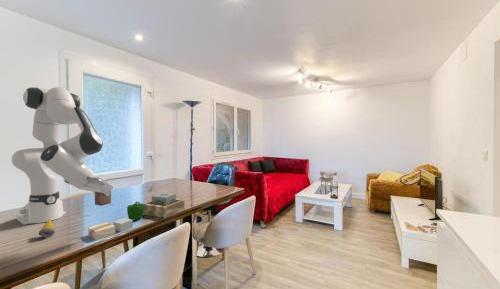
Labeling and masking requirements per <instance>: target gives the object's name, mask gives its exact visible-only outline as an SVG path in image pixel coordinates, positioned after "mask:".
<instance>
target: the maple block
mask: <svg viewBox="0 0 500 289" xmlns="http://www.w3.org/2000/svg"><path fill="white" fill-rule="evenodd" d="M87 232H88V236H89V237H90V238H92V239H93V240H95V241H98V240H100V239H103V238H107V237H111V236H112V235H115V234H116V230H115V226H114V225H113V223H109V222H103V223H100V224H99V223H98V224H95V225H92V226H89V227H88V229H87Z"/></svg>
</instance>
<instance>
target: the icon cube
mask: <svg viewBox="0 0 500 289" xmlns="http://www.w3.org/2000/svg"><path fill="white" fill-rule="evenodd" d="M176 199H177V193H176V192H175V193H173V192H164V191H162V192H160V193H157V194H155V195H152V196H151V201H152V205H158V206H167V205H170V204H172V203H175V202H176Z"/></svg>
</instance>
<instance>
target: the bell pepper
mask: <svg viewBox="0 0 500 289" xmlns="http://www.w3.org/2000/svg"><path fill="white" fill-rule="evenodd" d="M142 204H143V203H142V202H141V203H140V202H139V201H135V202H134V203H132V204H129V205H127V207H126V211H127V216H128V219H131V220H133V221H135V220H136V221H139V220H141V219H142V218H143V215H144V214H143V212H144V206H143V205H142Z"/></svg>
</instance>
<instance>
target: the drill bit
mask: <svg viewBox="0 0 500 289" xmlns="http://www.w3.org/2000/svg"><path fill="white" fill-rule="evenodd" d="M55 232H56V230H55V228H54V226H53V224H52V220H50V219H49V220H48V221H47V222H46V223H45V224H44V226H43V227H42V228H41V229H40V230H39V231H38V236H40V237H43V238H45V240H47V239H50V238H52V237H53V235H54V234H55Z"/></svg>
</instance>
